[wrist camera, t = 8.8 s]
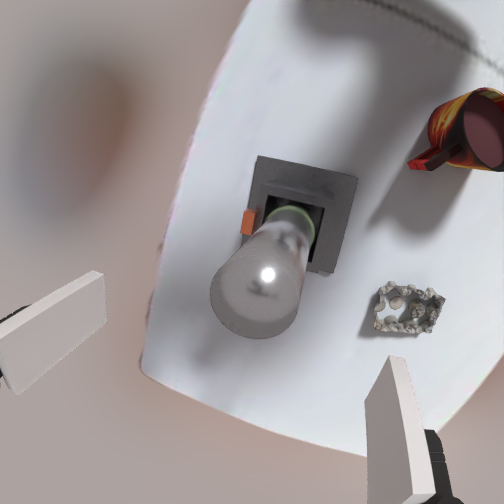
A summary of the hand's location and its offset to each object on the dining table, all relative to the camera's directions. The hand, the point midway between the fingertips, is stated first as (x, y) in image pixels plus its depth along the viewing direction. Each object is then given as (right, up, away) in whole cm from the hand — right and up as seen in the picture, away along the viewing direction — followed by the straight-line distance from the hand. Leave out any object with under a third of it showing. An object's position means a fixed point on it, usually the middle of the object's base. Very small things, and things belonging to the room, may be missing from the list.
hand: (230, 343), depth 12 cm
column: (+6, +7, +23) cm, 25 cm away
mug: (+29, +19, +22) cm, 41 cm away
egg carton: (+25, -4, +31) cm, 40 cm away
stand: (+7, +9, +30) cm, 33 cm away
